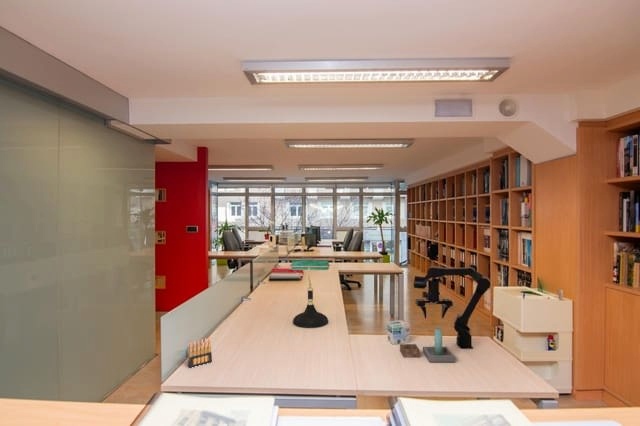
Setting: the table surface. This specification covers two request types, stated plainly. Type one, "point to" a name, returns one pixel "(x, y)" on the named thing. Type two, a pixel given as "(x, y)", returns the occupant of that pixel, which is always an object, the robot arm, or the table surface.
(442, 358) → the tray
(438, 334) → the dowel
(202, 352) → the ammunition clip
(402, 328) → the light bulb box
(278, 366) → the table surface
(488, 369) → the table surface
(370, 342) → the table surface
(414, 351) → the socket block
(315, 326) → the banker's lamp
